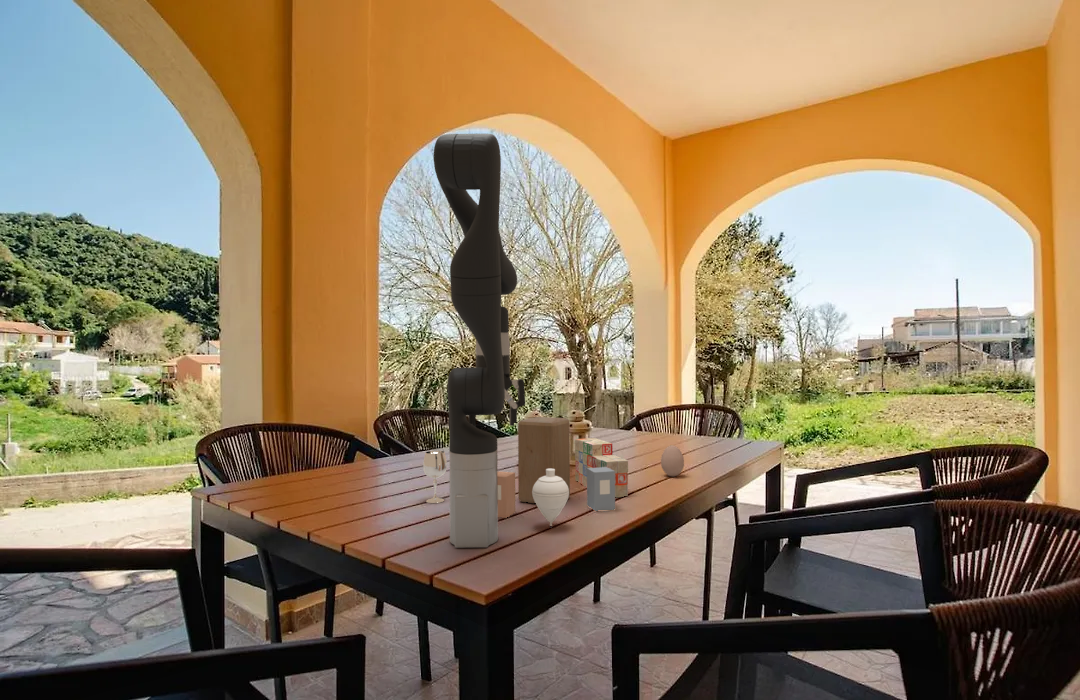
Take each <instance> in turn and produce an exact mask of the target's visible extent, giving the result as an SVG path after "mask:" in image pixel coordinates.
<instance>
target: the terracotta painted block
mask: <svg viewBox="0 0 1080 700" xmlns="http://www.w3.org/2000/svg"><path fill="white" fill-rule="evenodd" d="M497 479H498V518H500V517H502V518H501V519H508V518H510V517H511V516H512V515H513V513H514V512H515V513H516V472H512V471H511V472H510V471H500V470H499V471H498V470H497ZM515 513H514V514H515ZM511 514H512V515H511ZM510 515H511V516H510ZM507 517H508V518H507Z"/></svg>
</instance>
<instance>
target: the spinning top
mask: <svg viewBox="0 0 1080 700" xmlns="http://www.w3.org/2000/svg"><path fill="white" fill-rule="evenodd" d="M532 495H533V499H534V501H535V503H536V504H535V505H536V506H537V508H538V509H539V511H540V513H541V514H542V515H543V517H544V519H546V521H547V523H549V527H550V526H552V527H553V522H555V520H556V519H557V518H558V516H559V515H560V514H561V512H562V511H563V509H564V507H565V506H566V504H567V501H568V499H569V498H570V495H569V488H568V486H567V484H566V482H565V481H564V480H563V479H562V478H561V477H558V476H555V469H552V468H549V469H546V476H543V477H541V478H539V479H538V480H537V481H536V483H535V484H534V486H533V489H532ZM568 497H569V498H568Z"/></svg>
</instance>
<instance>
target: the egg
mask: <svg viewBox="0 0 1080 700" xmlns="http://www.w3.org/2000/svg"><path fill="white" fill-rule="evenodd" d="M660 465H661V468H662V471H663V472H664V473H665V474H666V475H667V476H668V477H678V476H679V475H680V474H681V473H682V471H683V469H684V467H685V459H684V455H683V453H682V451H681V450H680V448H679V447H677V446H676V445H672V444H671V445H668V446H667V447H666V448H664V450H663V452H662V454H661V457H660Z"/></svg>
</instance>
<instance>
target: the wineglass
mask: <svg viewBox="0 0 1080 700" xmlns="http://www.w3.org/2000/svg"><path fill="white" fill-rule="evenodd" d="M422 464H423V472H424V474H425V476H427V477H428V478H431V479H433V481H432V483H433V491H434V493H433V497H432V498H429V499H426V502H425V503H428V504H440V503H443V502H445V499H444V498H441V497H438V496H437V484H438V479H439V478H441V477H442V476H443V475H445V474H446V472H447V468H448V461H447V456H446V452H445V450H428V451H426V452H425V454H424V458H423V462H422Z"/></svg>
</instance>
